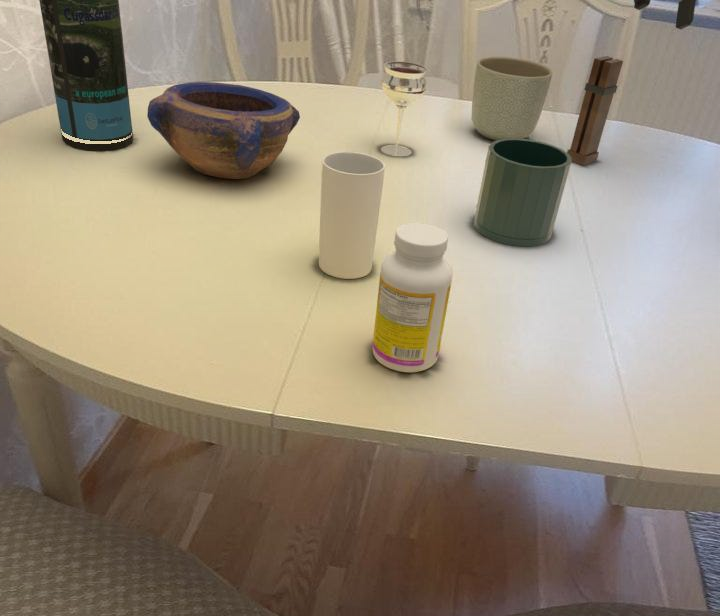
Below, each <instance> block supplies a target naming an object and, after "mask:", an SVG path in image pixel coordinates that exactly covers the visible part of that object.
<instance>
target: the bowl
mask: <svg viewBox="0 0 720 616" xmlns="http://www.w3.org/2000/svg"><path fill="white" fill-rule="evenodd" d="M146 117H147V120H148V121H149V124H150V126H151V127H152V128H153V129H154V130H155V131H157V133H159V135H161V137H163V139H164V140H165V141H166V143H167V144H168V145H169V146H170V147H171V149H173V151H175V153H177V154H178V156H180V157H181V159H182V160H183V161H185V162H186V163H187V164H188V165H189V166H191V167H192V168H193V169H194V170H195V171H197V172H198V173H200V174H202V175H205V176H206V175H207V176H210V177H214V178H218V179H227V180H244V179H250V178H252V177H254V176H255V175H257V174H259V173H260V172H261V171H263V169H265V168H267V167H268V166H270V165H271V164H273V162H275V161H276V160H277V158H278V157H279V156H280V155H281V154H282V152H283V150H284V149H285V146H286V145H287V142H288V140H289V139H288V138H289V135H290V134H291V133H292V131H293V130H294V128H295V127H296V126H297V125H298V122H299V121H300V118H301V115H300V111H299V110H298V109H297V108H296V107H294V105H292V104H291V102H290V101H288V100H287V99H285V98H283V97H281V96H278V95H277V94H274V93H271V92H268V91H265V90H262V89H259V88H254V87H250V86H245V85H241V84H233V83H225V82H215V81H213V82H212V81H211V82H210V81H193V82H191V81H190V82H183V83H177V84H173V85H170V86H169V87H167V88H166V89H165V90H164V92H163V93H162V94H160V95H159V96H156V97H154V98H152V99H151V100H150V101H149V103H148V106H147V115H146Z"/></svg>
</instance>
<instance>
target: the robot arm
mask: <svg viewBox="0 0 720 616" xmlns="http://www.w3.org/2000/svg"><path fill="white" fill-rule="evenodd" d="M696 2H698V0H679V1H678V5H677V12H676V21H675V28H676V29H678V30H682V29H685V28H687V27H689V26H690V25H691V24H692V23H693V21H694V15H695V10H696V9H695V8H696ZM650 3H651V0H633V4H634V5H633V7H634V9H636V10H637V11H642V10H643V9H645V8H647V7H649V5H650Z"/></svg>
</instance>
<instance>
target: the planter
mask: <svg viewBox="0 0 720 616" xmlns="http://www.w3.org/2000/svg"><path fill="white" fill-rule="evenodd" d="M552 78H553V70H552V69H551V68H550V67H548V66H546V65H545V64H542V63H539V62H536V61H533V60H529V59H525V58H518V57H514V56H513V57H512V56H499V55H498V56H497V55H496V56H495V55H494V56H485V57H481V58H479V59H478V60H477V62H476V68H475V74H474V81H473V90H472V100H471V122H472V126H474V128H475V130H476V131H477V132H478V133H479V134H480V135H481V136H482V137H484V138H486V139H488V140H492V141H496V140H501V139H511V138H516V139H517V138H518V139H527V138H528V137H529V136H530V135H531V134H532V133H533V132H534V131H535V129H536V127H537V125H538V122H539V120H540V117H541V115H542V112H543V108H544V105H545V102H546V99H547V96H548V92H549V89H550V85H551V83H552V82H551V81H552Z"/></svg>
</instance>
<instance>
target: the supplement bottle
mask: <svg viewBox="0 0 720 616" xmlns="http://www.w3.org/2000/svg"><path fill="white" fill-rule="evenodd" d="M448 240H449V236H448V233H447V232H446V231H445V230H443V229H442V228H440V227H438V226H435V225H433V224H428V223H423V222H410V223H409V222H408V223H404V224H402V225H400V226H398V227H397V228H396V230H395V235H394V241H393V245H394V248H395V250H394V251H392V252H390V253H389V254H388V255H387V256H385V258H384V259H383V261H382V262H381V264H380V265H381V266H380V272H379V282H378V292H377V300H376V308H375V309H376V310H375V318H374V326H373V327H374V329H373V337H372V353H373V356H374V358H375V359H376V361H377V362H378V363H380V364H381V365H382V366H384V367H386V368H388V369H391V370H393V371H396V372H402V373H418V372H422V371H425V370H427V369H429V368H431V367H433V366H434V365H435V364H436V362H437V360H438V358H439V353H440V350H441V344H442V338H443V333H444V327H445V322H446V315H447V310H448V304H449V298H450V293H451V286H452V281H453V269H452V265H451V264H450V262H449V261H448V260H447V258H445V257H444V255H445V253H446V251H447V247H448V242H449V241H448Z"/></svg>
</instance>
